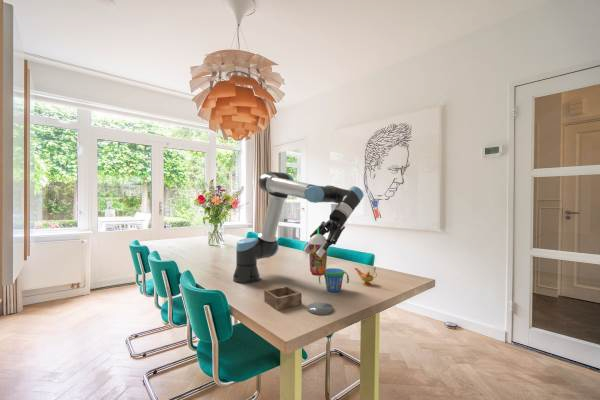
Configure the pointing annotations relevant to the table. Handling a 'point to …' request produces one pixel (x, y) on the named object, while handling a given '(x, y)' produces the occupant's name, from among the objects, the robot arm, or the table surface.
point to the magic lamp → (365, 277)
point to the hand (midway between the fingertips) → (311, 253)
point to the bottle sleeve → (282, 297)
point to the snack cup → (334, 279)
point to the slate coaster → (320, 308)
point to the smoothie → (315, 261)
